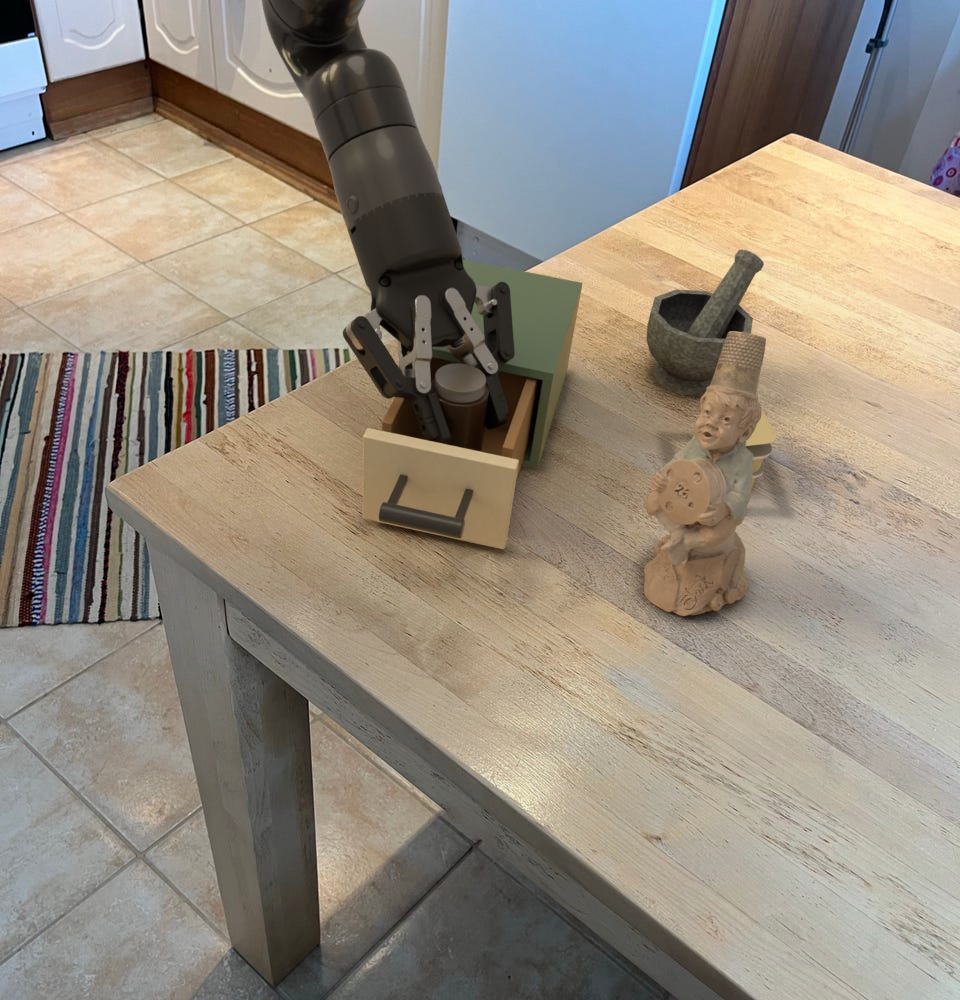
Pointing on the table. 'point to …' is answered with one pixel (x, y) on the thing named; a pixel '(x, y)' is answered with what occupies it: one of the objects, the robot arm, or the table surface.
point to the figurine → (708, 491)
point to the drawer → (448, 470)
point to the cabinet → (533, 338)
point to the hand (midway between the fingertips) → (469, 434)
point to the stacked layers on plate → (760, 445)
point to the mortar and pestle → (698, 327)
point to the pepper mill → (462, 403)
